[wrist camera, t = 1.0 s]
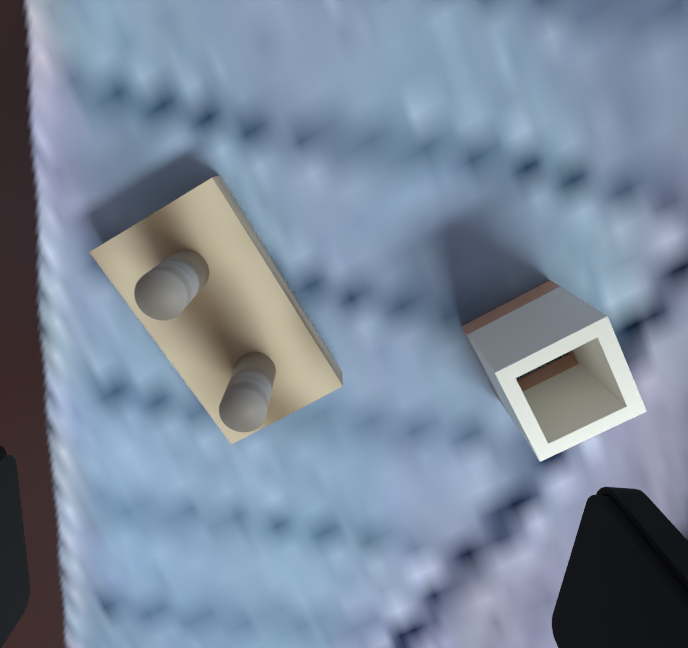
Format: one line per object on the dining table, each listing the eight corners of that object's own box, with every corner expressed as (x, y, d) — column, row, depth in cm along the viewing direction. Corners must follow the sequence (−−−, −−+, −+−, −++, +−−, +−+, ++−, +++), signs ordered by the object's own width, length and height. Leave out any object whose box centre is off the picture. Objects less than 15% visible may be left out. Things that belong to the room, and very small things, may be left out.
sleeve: (549, 280, 32) (607, 316, 26) (584, 358, 34) (646, 411, 27) (461, 326, 33) (494, 372, 26) (499, 400, 35) (540, 461, 28)
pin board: (219, 175, 30) (188, 185, 23) (341, 372, 34) (345, 428, 27) (104, 245, 31) (42, 274, 24) (236, 428, 35) (215, 495, 28)
